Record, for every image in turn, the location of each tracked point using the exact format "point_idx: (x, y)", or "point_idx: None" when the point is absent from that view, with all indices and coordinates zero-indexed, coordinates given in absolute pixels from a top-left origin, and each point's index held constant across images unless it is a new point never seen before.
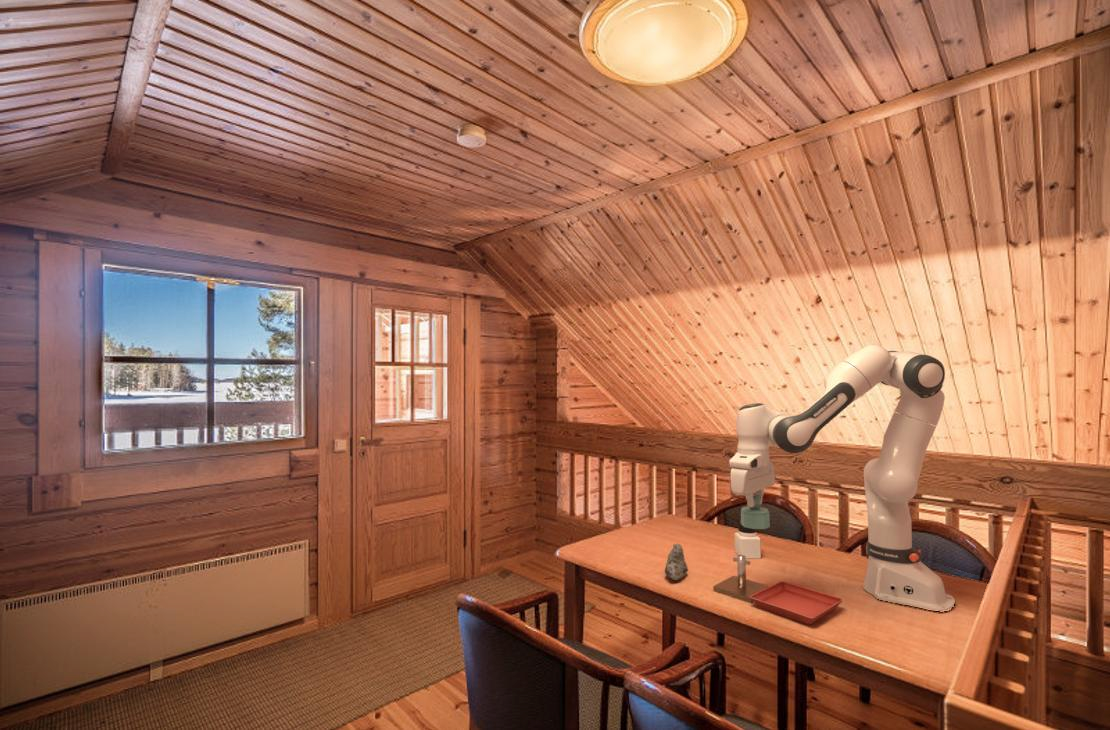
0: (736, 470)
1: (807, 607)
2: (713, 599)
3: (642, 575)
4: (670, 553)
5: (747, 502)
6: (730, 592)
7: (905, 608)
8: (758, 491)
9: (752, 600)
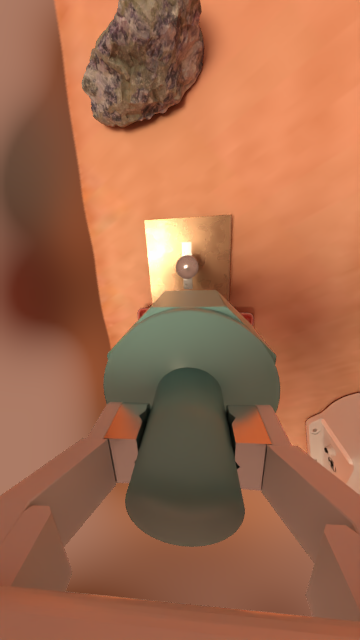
0: None
1: None
2: (115, 246)
3: (82, 4)
4: None
5: (95, 424)
6: (148, 261)
7: (299, 445)
8: (314, 569)
9: (141, 312)
